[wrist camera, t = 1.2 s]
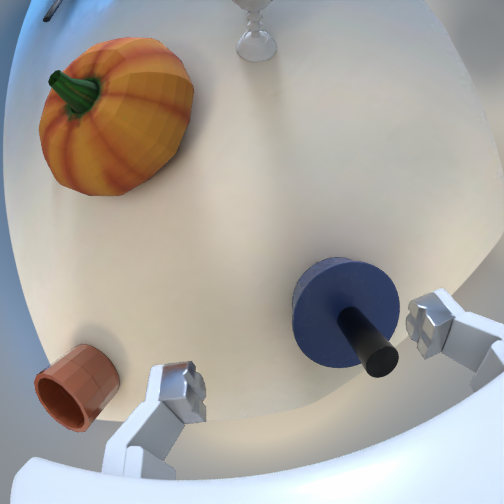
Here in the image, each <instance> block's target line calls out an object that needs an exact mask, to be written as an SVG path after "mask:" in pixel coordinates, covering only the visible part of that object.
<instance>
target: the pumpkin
mask: <svg viewBox="0 0 504 504" xmlns="http://www.w3.org/2000/svg"><path fill="white" fill-rule="evenodd" d="M48 82H49V85H50V86H51V87H52V88H51V90H50V93H49V95H48V97H47V100H46V102H45V106H44V109H43V113H42V116H41V120H40V124H39V135H40V140H41V146H42V151H43V154H44V157H45V160H46V162H47V164H48V166H49V168H50V170H51V172H52V173H53V175H54V177H55V179H56V180H57V181H58V182H59V183H60V184H61V185H63V186H65V187H68V188H70V189H73V190H75V191H78V192H80V193H83V194H86V195H89V196H119V195H123V194H125V193H126V192H128V191H130V190H131V189H133V188H135V187H136V186H138V185H140V184H141V183H143V182H145V181H146V180H148V179H150V178H151V177H152V176H153V175H154V174H155V173H156V172H157V171H158V170H159V169H160V168H161V167H162V166H163V165H164V164H165V163H166V162H168V161H169V160H170V159H171V158H172V157H173V156H174V155H175V154H176V152H177V149H178V147H179V144H180V142H181V140H182V137H183V135H184V133H185V130H186V128H187V126H188V124H189V121H190V114H191V107H192V101H193V94H194V89H193V85H192V83H191V81H190V78H189V76H188V74H187V72H186V70H185V68H184V65H183V63H182V61H181V60H180V59H179V58H178V57H177V56H176V55H175V54H174V53H172V52H171V51H170V50H169V49H168V48H167V47H165V46H164V45H163V44H162V43H161V42H160V41H158V40H155V39H152V38H131V37H126V38H119V39H114V40H110V41H106V42H102V43H98V44H96V45H94V46H92V47H91V48H89V49H88V50H87V51H85V52H84V53H83V54H82V55H80V56H79V57H78V58H77V59H75V60H74V61H73V62H72V63H71V64H70V65H69V66H68V67H67V68H66V69H65V70H64V71H63V72H61V71H60V70H57V71H55V72H54V73H53V74H52V75H51V76H50V79H49V81H48Z"/></svg>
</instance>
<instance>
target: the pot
mask: <svg viewBox="0 0 504 504" xmlns="http://www.w3.org/2000/svg"><path fill="white" fill-rule="evenodd" d="M34 385H35V391H36V394H37V396H38V398H39V400H40V402H41V404H42V405H43V406H44V408H45V409H46V411H47V412H48V413H49V414H50V415H51V416H52V417H53V418H54V419H55V420H56V421H57V422H58V423H60V424H61V425H63V426H64V427H66V428H67V429H69V430H72V431H75V432H85V431H86V430H87V429H88V427H89V426H90V425H91V424H92V422H93V421H94V420H95V419H96V417H97V416H98V415H99V414H100V412H101V411H102V410H103V409H104V407H105V406H106V405H107V404H108V402H109V401H110V400H111V399H112V398H113V396H114V395H115V394H116V393H117V391H118V389H119V377H118V374H117V371H116V369H115V367H114V366H113V364H112V363H111V361H110V360H109V359H108V358H107V357H106V356H105V355H104V354H103V353H102V352H101V351H99V350H98V349H96V348H94V347H92V346H89V345H84V344H82V345H78V346H76V347H74V348H72V349H71V350H69V351H68V352H67V353H65V354H64V355H63V356H61V357H60V358H59V359H57V360H56V361H55V362H53V363H52V364H51V365H49V366H48V367H47V368H45V369H44V370H43V371H42V372H40V373H39V374H37V375H36V378H35V381H34Z"/></svg>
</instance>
